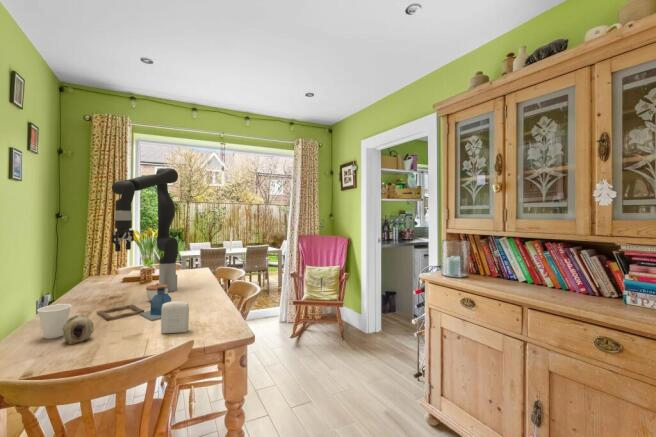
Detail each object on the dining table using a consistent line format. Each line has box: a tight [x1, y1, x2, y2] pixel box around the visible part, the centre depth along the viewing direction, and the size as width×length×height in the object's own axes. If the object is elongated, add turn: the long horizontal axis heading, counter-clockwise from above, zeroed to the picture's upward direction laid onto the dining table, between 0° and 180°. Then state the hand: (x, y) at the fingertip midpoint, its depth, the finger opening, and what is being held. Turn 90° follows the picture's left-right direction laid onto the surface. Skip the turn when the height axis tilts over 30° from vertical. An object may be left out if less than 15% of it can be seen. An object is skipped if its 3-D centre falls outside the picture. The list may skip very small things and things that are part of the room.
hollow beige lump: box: [62, 314, 95, 345], centre depth 116 cm, size 9×8×10 cm
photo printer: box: [160, 300, 190, 334], centre depth 126 cm, size 10×4×12 cm, turn 103°
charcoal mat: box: [138, 310, 161, 322], centre depth 148 cm, size 14×14×1 cm
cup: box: [36, 303, 72, 340], centre depth 120 cm, size 10×10×11 cm
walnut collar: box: [96, 304, 145, 322], centre depth 148 cm, size 15×15×1 cm
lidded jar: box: [145, 282, 169, 301], centre depth 171 cm, size 11×11×9 cm
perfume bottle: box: [150, 287, 172, 315], centre depth 148 cm, size 6×6×12 cm
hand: (123, 250), depth 162 cm, fingers open, 8 cm apart
